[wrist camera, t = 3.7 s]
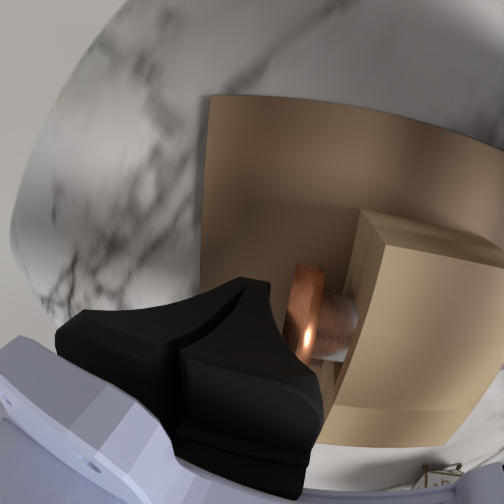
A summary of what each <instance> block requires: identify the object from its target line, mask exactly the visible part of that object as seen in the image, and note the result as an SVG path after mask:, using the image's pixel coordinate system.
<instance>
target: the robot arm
mask: <svg viewBox="0 0 504 504" xmlns="http://www.w3.org/2000/svg"><path fill="white" fill-rule="evenodd" d="M270 292H271V284H270V282H268V281H262V280H257V279H251V278H246V277H241V276H240V277H237V278H235V279H233V280H231V281H229V282H226V283H224V284H222V285H220V286H218V287H216V288H214V289H212V290H209V291H207V292H204V293H202V294H199V295H197V296H194V297H192V298H189V299H186V300H183V301H179V302H175V303H172V304H168V305H163V306H157V307H151V308H145V309H136V310H121V311H105V310H85V309H84V310H82V311H81V312H80V313H78V314H77V315H76V316H74V317H73V318H72V319H70V320H69V321H68V322H66V323H65V324H64V325H63V326H61V327H60V328H59V329H57V331H56V334H55V348H56V351H57V354H55V353H54V352H52V351H50V350H49V349H47V348H45V347H44V346H42V345H41V344H39V343H38V342H36V341H35V340H33V339H29V338H27V337H23V336H20V335H19V336H17V337H16V338H15V339H13V340H12V341H11V342H9V343H8V344H7V345H5V346H4V347H2V348H1V349H0V504H504V472H503V468H502V465H501V462H496V463H492V464H488V465H484V466H480V467H476V468H473V469H471V470H469V471H467V472H466V473H465V474H463V475H462V476H461V477H460V478H459V479H458V480H457V481H456V482H455V483H452V484H447V485H441V486H435V487H428V488H420V489H410V490H398V491H377V492H352V491H330V490H317V489H308V488H303V485H304V479H305V474H306V467H308V465H309V461H310V454H311V450H312V448H313V446H314V444H315V442H316V440H317V438H318V436H319V434H320V432H321V430H322V427H323V423H324V407H323V399H322V394H321V389H320V385H319V381H318V377H317V375H316V374H315V373H314V372H313V371H312V370H311V369H310V368H309V367H307V366H306V365H305V364H304V363H303V362H302V361H301V360H299V358H298V357H297V356H296V355H295V354H294V353H293V351H292V350H291V349H290V347H289V346H288V344H287V343H286V342H285V340H284V338H283V336H282V335H281V333H280V331H279V329H278V326H277V324H276V321H275V319H274V316H273V312H272V308H271V303H270Z"/></svg>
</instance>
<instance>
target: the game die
mask: <svg viewBox="0 0 504 504" xmlns="http://www.w3.org/2000/svg"><path fill="white" fill-rule="evenodd" d="M461 467H462V465H461V463H460V464H459V465H457V467H456V470H428V465H426V464H424V463H423V467H422V468H423V470H424V471H425V472H424V473H423V475H422V476H421V477H420V478H419V479H418V481H417V482H416V483H415V484H414V485H413V486H412V488H411V489H420V488H428V487H435V486H441V485H447V484H452V483H455V482H456V481H457V480H458V479H459V478H460V477H461V476H462V475H463V474H465V473H463V472H461V471H459V469H460V468H461Z"/></svg>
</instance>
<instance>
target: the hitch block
mask: <svg viewBox="0 0 504 504" xmlns="http://www.w3.org/2000/svg"><path fill="white" fill-rule="evenodd" d="M297 263H299V264H305V265H311V266H317V267H323V268H325V284H324V293H326V294H332V295H338V296H345V297H351V298H355V302H356V307H357V313H358V321H357V324H356V327H355V330H354V333H353V336H352V339H351V342H350V345H349V348H348V351H347V354H346V357H345V360H344V362H336V361H329V360H323V359H316V358H311V359H310V363H309V366H308V367H309V368H310V369H311V370H312V371H313V372H314V373H315V374H316V375H317V377H318V381H319V385H320V389H321V394H322V399H323V407H324V423H323V427H322V430H321V432H320V434H319V436H318V438H317V440H316V442H315V443H320V444H329V445H339V446H353V447H374V448H407V447H428V446H440V445H445V443H446V442H447V441H448V440H449V439H450V438H451V437H452V435H453V434H454V433H455V432H456V431H457V430H458V428H459V427H460V426H461V425H462V423H463V422H464V421H465V420H466V418H467V417H468V416H469V414H470V413H471V412H472V411H473V409H474V408H475V406H476V405H477V404H478V402H479V401H480V400H481V398H482V397H483V395H484V394H485V392H486V391H487V389H488V388H489V386H490V385H491V383H492V382H493V380H494V379H495V377H496V375H497V374H498V372H499V370H500V369H501V367H502V365H503V364H504V152H503V151H501V150H498V149H496V148H494V147H491V146H489V145H487V144H484V143H482V142H479V141H477V140H474V139H471V138H469V137H466V136H463V135H461V134H458V133H455V132H452V131H449V130H446V129H443V128H440V127H437V126H433V125H430V124H427V123H423V122H420V121H416V120H413V119H409V118H405V117H401V116H397V115H393V114H389V113H384V112H380V111H375V110H370V109H365V108H360V107H354V106H349V105H343V104H336V103H330V102H322V101H314V100H306V99H296V98H285V97H271V96H251V95H211V98H210V108H209V119H208V130H207V142H206V155H205V169H204V185H203V203H202V225H201V255H200V294H202V293H204V292H207V291H209V290H212V289H214V288H216V287H218V286H220V285H222V284H224V283H226V282H229V281H231V280H233V279H235V278H237V277H240V276H241V277H246V278H251V279H257V280H262V281H268V282H270V284H271V292H270V303H271V308H272V312H273V316H274V319H275V321H276V324H277V326H278V329H279V331H280V333H281V335H282V330H283V325H284V320H285V315H286V310H287V305H288V300H289V296H290V291H291V286H292V281H293V276H294V272H295V268H296V264H297Z"/></svg>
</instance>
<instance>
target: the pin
mask: <svg viewBox="0 0 504 504" xmlns="http://www.w3.org/2000/svg"><path fill="white" fill-rule="evenodd" d="M324 284H325V268H323V267H317V266H311V265H305V264H299V263H297V264H296V268H295V272H294V276H293V281H292V286H291V291H290V296H289V300H288V305H287V310H286V315H285V320H284V325H283V330H282V336H283V338H284V340H285V342H286V343H287V344H288V346H289V347H290V349H291V350H292V351H293V353H294V354H295V355H296V356H297V357H298V358H299V360H301V361H302V362H303V363H304V364H305V365H306V366H307V367H308V366H309V363H310V359H311V358H316V359H323V360H329V361H336V362H344V360H345V357H346V354H347V351H348V348H349V345H350V342H351V339H352V336H353V333H354V330H355V327H356V324H357V321H358V313H357V307H356V302H355V298H351V297H345V296H338V295H332V294H326V293H324ZM503 369H504V364H503V365H502V367H501V369H500V370H499V371H501V370H503Z"/></svg>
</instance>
